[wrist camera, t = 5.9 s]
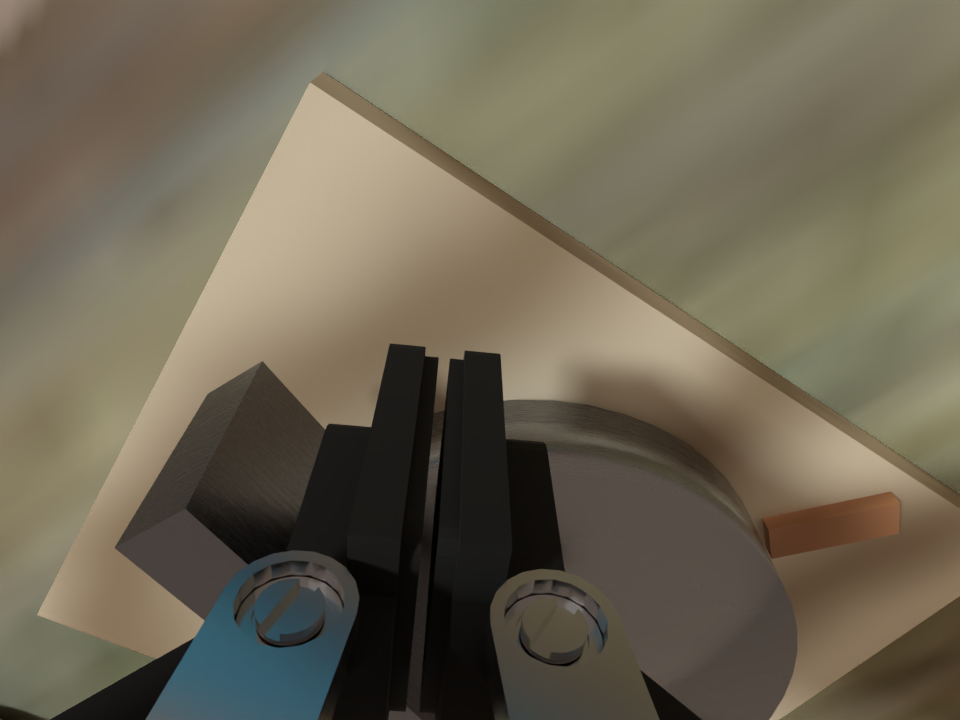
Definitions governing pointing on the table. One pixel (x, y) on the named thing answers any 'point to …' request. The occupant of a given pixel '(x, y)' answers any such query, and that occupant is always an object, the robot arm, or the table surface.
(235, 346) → the stand
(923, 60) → the table surface
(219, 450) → the disc
